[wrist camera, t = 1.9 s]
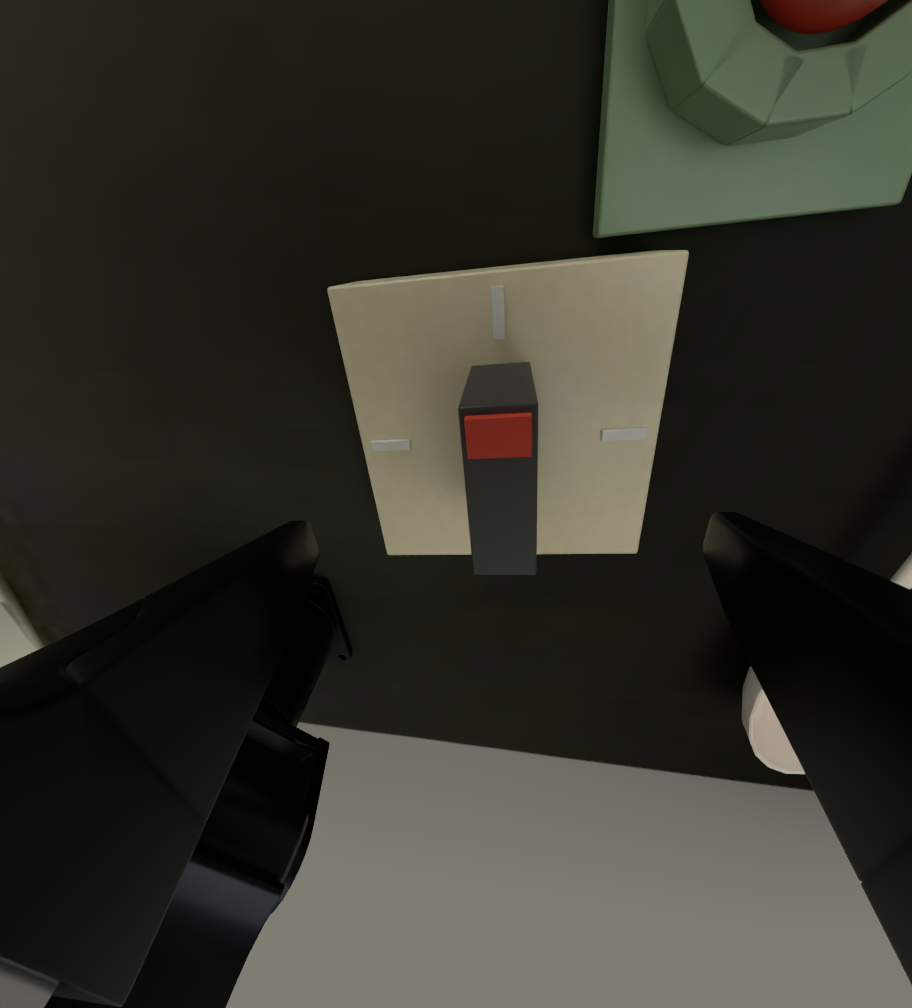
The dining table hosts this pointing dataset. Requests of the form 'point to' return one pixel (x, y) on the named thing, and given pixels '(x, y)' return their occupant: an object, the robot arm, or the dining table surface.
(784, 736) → the ladle
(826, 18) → the button
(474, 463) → the hob knob
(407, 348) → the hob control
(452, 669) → the dining table surface
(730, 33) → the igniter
